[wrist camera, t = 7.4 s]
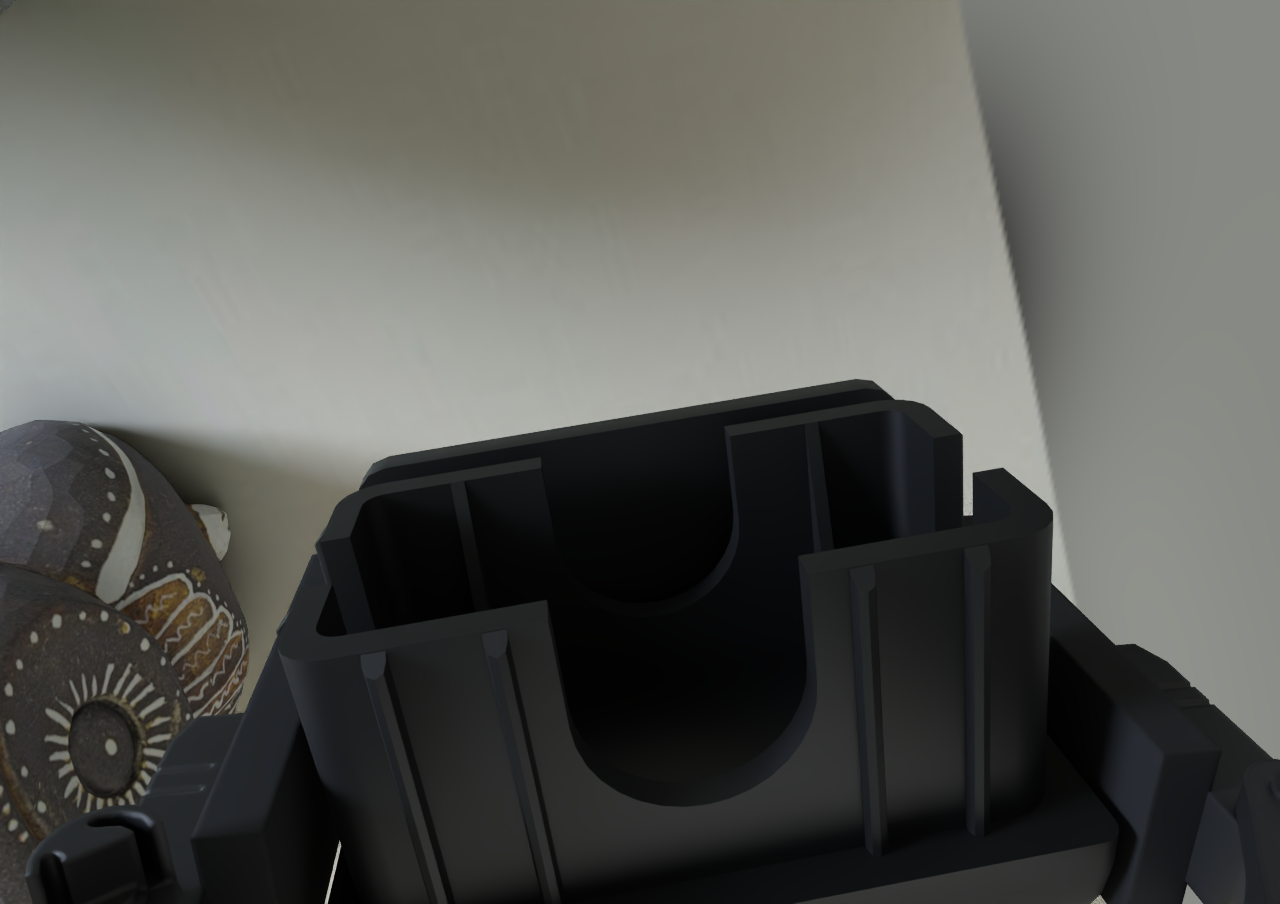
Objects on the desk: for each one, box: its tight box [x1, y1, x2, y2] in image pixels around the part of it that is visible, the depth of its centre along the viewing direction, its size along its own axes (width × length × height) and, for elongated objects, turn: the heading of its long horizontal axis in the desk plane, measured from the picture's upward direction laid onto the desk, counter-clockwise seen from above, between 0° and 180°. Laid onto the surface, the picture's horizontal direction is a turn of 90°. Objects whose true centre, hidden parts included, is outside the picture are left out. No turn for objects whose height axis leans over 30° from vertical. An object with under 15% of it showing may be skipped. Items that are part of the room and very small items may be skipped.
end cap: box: [276, 379, 1119, 904], centre depth 14 cm, size 10×7×7 cm
